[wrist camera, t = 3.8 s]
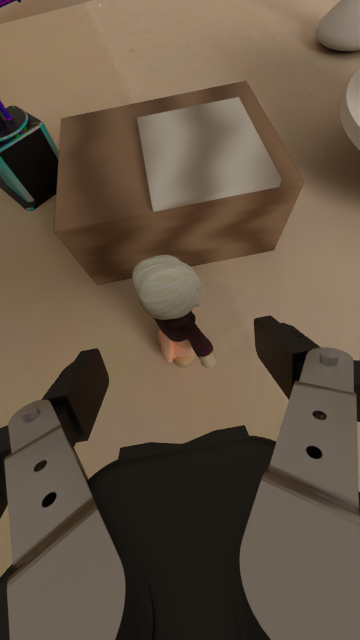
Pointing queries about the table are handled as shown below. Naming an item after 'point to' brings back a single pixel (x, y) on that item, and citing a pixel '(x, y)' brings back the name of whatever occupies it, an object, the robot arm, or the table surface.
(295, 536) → the robot arm
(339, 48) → the flower in vase
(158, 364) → the table surface
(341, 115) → the ribbed cylinder on disc
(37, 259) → the table surface
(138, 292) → the grandmother figurine
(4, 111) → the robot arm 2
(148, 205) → the stand
